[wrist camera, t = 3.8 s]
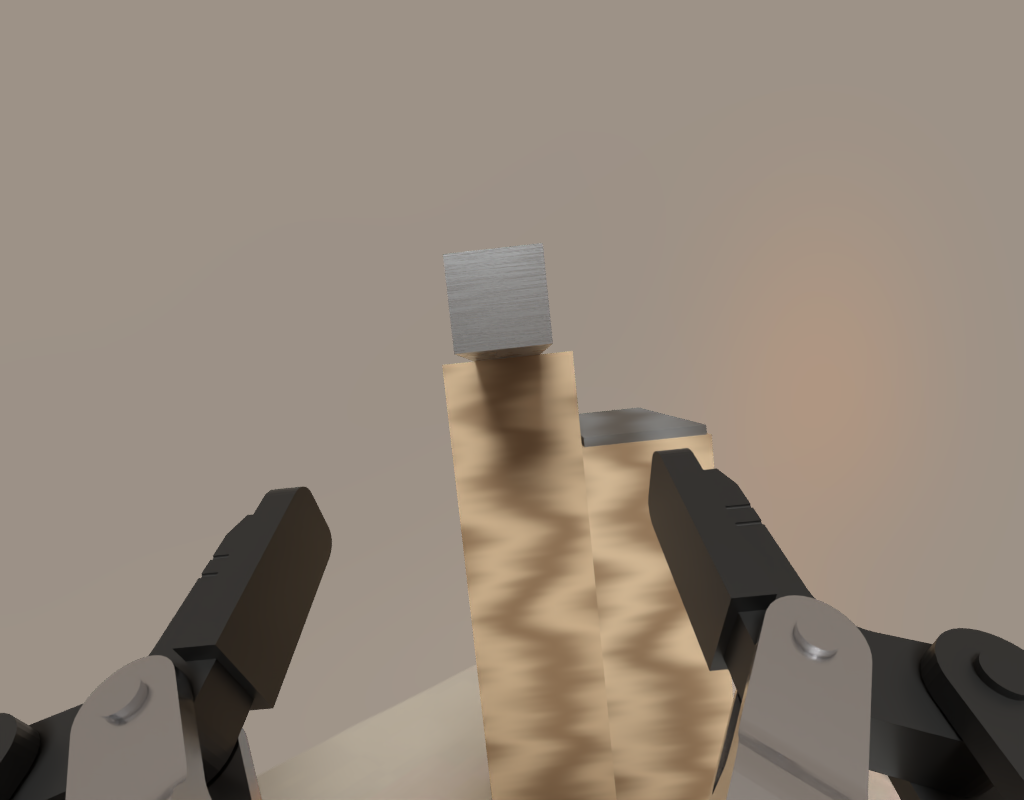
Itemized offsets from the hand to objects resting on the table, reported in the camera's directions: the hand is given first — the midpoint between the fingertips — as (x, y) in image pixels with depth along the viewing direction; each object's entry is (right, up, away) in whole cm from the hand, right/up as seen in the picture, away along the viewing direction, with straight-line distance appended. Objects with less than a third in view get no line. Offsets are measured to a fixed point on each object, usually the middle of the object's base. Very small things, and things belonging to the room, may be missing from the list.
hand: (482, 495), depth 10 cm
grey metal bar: (0, +5, +19) cm, 20 cm away
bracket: (+8, -26, +25) cm, 37 cm away
